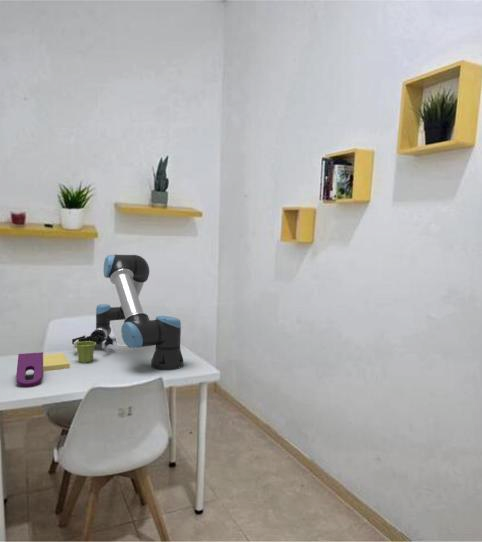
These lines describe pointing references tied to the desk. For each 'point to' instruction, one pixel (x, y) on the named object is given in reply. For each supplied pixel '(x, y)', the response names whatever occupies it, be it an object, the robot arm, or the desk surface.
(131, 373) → the desk surface
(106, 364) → the desk surface
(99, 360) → the desk surface
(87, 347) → the plant pot
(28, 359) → the mounting bracket
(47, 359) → the shelf board
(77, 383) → the desk surface
